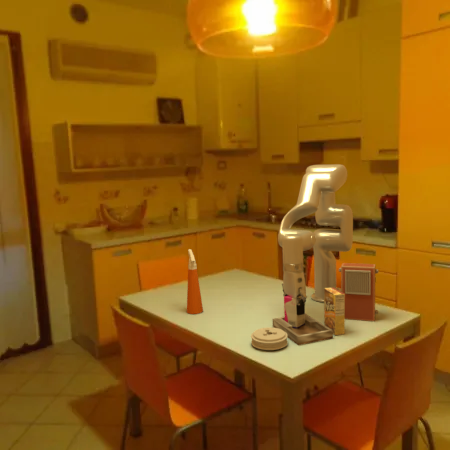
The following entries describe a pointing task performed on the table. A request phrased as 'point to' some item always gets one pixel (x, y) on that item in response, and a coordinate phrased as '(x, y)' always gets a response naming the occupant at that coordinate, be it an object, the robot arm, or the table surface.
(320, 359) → the table surface
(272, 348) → the lid
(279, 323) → the shallow rectangular tray
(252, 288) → the table surface
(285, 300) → the supplement box
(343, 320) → the candy box
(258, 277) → the table surface
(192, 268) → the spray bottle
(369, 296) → the red speaker
